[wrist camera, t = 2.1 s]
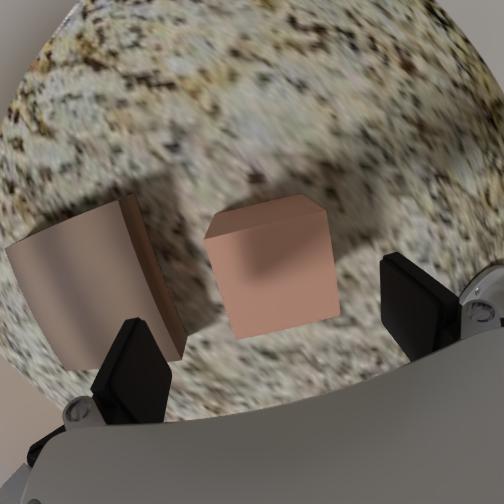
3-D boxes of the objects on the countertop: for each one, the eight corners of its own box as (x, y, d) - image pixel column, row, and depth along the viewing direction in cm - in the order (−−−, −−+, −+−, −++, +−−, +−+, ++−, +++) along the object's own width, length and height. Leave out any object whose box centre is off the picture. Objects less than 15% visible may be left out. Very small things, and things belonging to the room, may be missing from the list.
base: (134, 192, 18) (117, 200, 16) (187, 336, 22) (181, 360, 20) (25, 237, 19) (4, 248, 16) (78, 351, 23) (66, 370, 20)
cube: (301, 193, 19) (326, 210, 13) (315, 272, 21) (340, 314, 15) (214, 214, 19) (203, 239, 14) (236, 291, 21) (236, 339, 16)
